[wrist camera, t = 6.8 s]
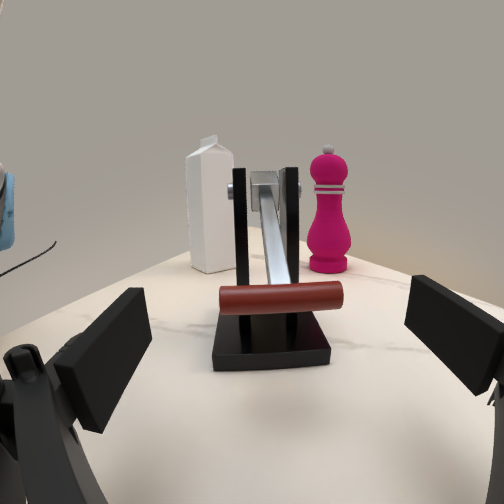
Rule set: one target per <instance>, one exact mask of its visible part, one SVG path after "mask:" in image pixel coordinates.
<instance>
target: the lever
mask: <svg viewBox="0 0 504 504" xmlns="http://www.w3.org/2000/svg"><path fill="white" fill-rule="evenodd" d="M250 189H251V208H252V211H260V219H261V228H262V236H263V245H264V253H265V262H266V271H267V280H268V285H243V286H221V287H220V289H219V306H220V313H221V315H250V314H273V313H291V312H307V311H320V310H333V309H340V308H341V307H342V305H343V299H344V294H343V287H342V284H341V282H340V281H327V282H310V283H291V278H290V273H289V268H288V263H287V258H286V253H285V249H284V244H283V239H282V234H281V230H280V225H279V220H278V216H277V211H278V210H279V193H280V184H279V180H278V177H277V174H276V171H251V172H250Z"/></svg>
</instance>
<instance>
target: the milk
mask: <svg viewBox="0 0 504 504" xmlns="http://www.w3.org/2000/svg"><path fill="white" fill-rule="evenodd" d="M185 167H186V192H187V212H188V228H189V242H190V255H191V266H192V267H194V268H196V269H198V270H200V271H202V272H204V273H206V274H210V273H214V272H219V271H223V270H228V269H232V268H236V255H235V232H234V207H233V200H228V192H227V185H228V183H233V178H232V168H234V155H233V153H232V152H230V151H229V150H227V149H226V148H224V147H223V146H221V145H220V144H218V142H217V134H215V135H212V136H209V137H207V138H204V139H202V140H200V149H198V150H197V151H195V152H194V153H192V154H191V155H189V156H187V157H186V158H185Z"/></svg>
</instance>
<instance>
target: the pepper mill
mask: <svg viewBox="0 0 504 504" xmlns="http://www.w3.org/2000/svg"><path fill="white" fill-rule="evenodd" d="M333 152H334V149H333V147H332V146H331V145H325V146H324V147H323V153H324V155H320V156H318V157H316V158H315V159H314V160H313V161H312V163H311V167H310V174H311V176H312V178H313V179H314V180H315V182H316V185H314V188H315V189H314V190H315V191H314V193H316V195H317V212H316V216H315V219H314V221H313V223H312V226H311V228H310V230H309V233H308V236H307V246H308V248H309V249H310V251H311V252H312V253H313V255H312V256H311V257H310V264H309V267H310V269H311V270H313V271H316V272H321V273H339V272H343V271H345V270H346V269H347V258H346V257H345V256H344V255H345V253H346V252H347V251H348V250H349V248H350V246H351V237H350V233H349V230H348V228H347V225H346V223H345V220H344V218H343V214H342V203H341V202H342V194H344V193H345V191H344V188H345V186H344V185H342V184H343V181H344V180H345V179H346V177H347V174H348V169H347V165H346V163H345V161H344V160H343V159H342V158H341V157H339V156H337V155H334V154H333Z"/></svg>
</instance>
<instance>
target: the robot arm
mask: <svg viewBox="0 0 504 504" xmlns="http://www.w3.org/2000/svg"><path fill="white" fill-rule="evenodd" d="M3 3H4V0H0V15H1V11H2V7H3ZM13 207H14V176H13V175H12V174H8V173H5V174H4V170H3V166H2V164H1V163H0V251H2V250H6V249H9V248H10V247H11V246H12V245H13V243H14V212H13V211H14V208H13ZM55 244H56V241H55V243H54V244H53V245H52V247H50V248H49V249H47V250H46V251H44V252H43V253H41V254H39V255H37V256H35V257H33V258H31V259H29V260H27V261H25V262H23V263H21V264H19V265H17V266H15V267H13V268H11V269H10V270H7V271H6V272H4V273H2V274H0V277H2V276H3V275H5V274H7V273H9V272H11V271H12V270H15V269H17V268H18V267H20V266H22V265H24V264H26V263H28V262H30V261H32V260H34V259H36V258H38V257H40V256H41V255H43V254H45V253H46V252H48V251H49V250H51V249H52V248H53V247H54V246H55ZM404 325H405V326H406V327H407V328H408V329H409V330H411V331H412V332H413V333H414V334H415V335H416V336H417V337H418V338H419V339H420V340H421V341H422V342H423V343H424V344H425V345H426V346H427V347H428V348H429V349H430V350H431V351H432V352H433V353H434V354H435V355H436V356H437V357H438V358H439V359H440V360H441V361H442V362H443V363H444V364H445V365H446V366H447V367H448V368H449V369H450V370H451V371H452V372H453V373H454V374H455V375H456V376H457V377H458V378H459V380H460V381H461V382H462V383H463V384H464V385H465V386H466V387H467V388H468V389H469V390H470V391H471V392H472V393H473V394H474V395H475V396H478V395H480V394H482V393H484V392H486V391H488V389H489V387H490V384H491V382H492V380H493V378H494V379H496V380H497V381H498V382H497V384H496V387H495V389H494V391H493V393H492V395H491V397H490V399H489V401H488V404H487V405H490V403H491V401H493V400H495V401H494V403H493V405H492V406H495V431H494V448H493V459H492V468H491V475H490V482H489V488H488V493H487V498H486V503H485V504H504V323H502V322H500V321H499V320H497V319H496V318H494V317H493V316H491V315H490V314H488V313H487V312H485V311H483V310H482V309H480V308H479V307H477V306H475V305H474V304H472V303H470V302H469V301H467V300H466V299H464V298H462V297H461V296H459V295H457V294H456V293H454V292H452V291H451V290H449V289H447V288H446V287H444V286H442V285H440V284H439V283H437V282H435V281H433V280H432V279H430V278H428V277H426V276H425V275H415V276H412V279H411V287H410V294H409V300H408V306H407V312H406V318H405V323H404ZM151 341H152V335H151V329H150V324H149V319H148V313H147V307H146V301H145V295H144V288H128V289H127V290H126V291H125V292H124V293H123V294H121V295H120V296H119V297H118V298H117V299H116V300H115V301H114V302H113V303H112V304H111V305H110V306H109V307H108V308H107V309H106V310H105V311H104V312H103V313H102V314H101V315H100V316H99V317H98V318H97V319H96V320H95V321H94V322H93V323H92V324H91V325H90V326H89V327H88V328H87V329H86V330H85V331H84V332H83V333H79V334H78V335H76V336H74V337H72V338H71V339H70V340H69V341H68V342H67V343H66V344H65V345H64V346H63V347H62V348H61V349H60V350H59V352H57V353H56V354H55V355H54V356H53V357H52V358H51V359H50V360H49V361H48V362H47V363H46V364H45V365H44V363H43V361H42V358H41V356H40V353H39V350H38V348H37V346H35V345H33V344H23V345H18V346H16V347H13V348H12V349H10V350H8V351H7V352H6V353H5V355H4V357H3V360H4V362H5V364H6V367H7V369H8V371H9V373H10V375H11V378H12V380H2V378H1V376H0V504H26V498H27V502H28V504H108V502H107V501H106V499H105V497H104V495H103V493H102V491H101V489H100V487H99V485H98V483H97V481H96V479H95V477H94V474H93V472H92V470H91V468H90V465H89V463H88V461H87V458H86V456H85V453H84V451H83V448H82V446H81V443H80V441H79V438H78V435H77V432H76V430H75V428H74V427H73V425H72V424H73V423H74V421H75V420H76V418H78V420H79V422H80V424H81V426H82V428H83V429H84V430H88V431H92V432H96V433H100V434H102V433H103V431H104V429H105V427H106V425H107V423H108V421H109V419H110V417H111V415H112V413H113V411H114V409H115V407H116V405H117V404H118V402H119V400H120V398H121V396H122V394H123V392H124V390H125V388H126V386H127V385H128V383H129V381H130V379H131V377H132V375H133V373H134V371H135V370H136V368H137V366H138V364H139V362H140V360H141V359H142V357H143V355H144V353H145V351H146V350H147V348H148V346H149V344H150V342H151Z"/></svg>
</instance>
